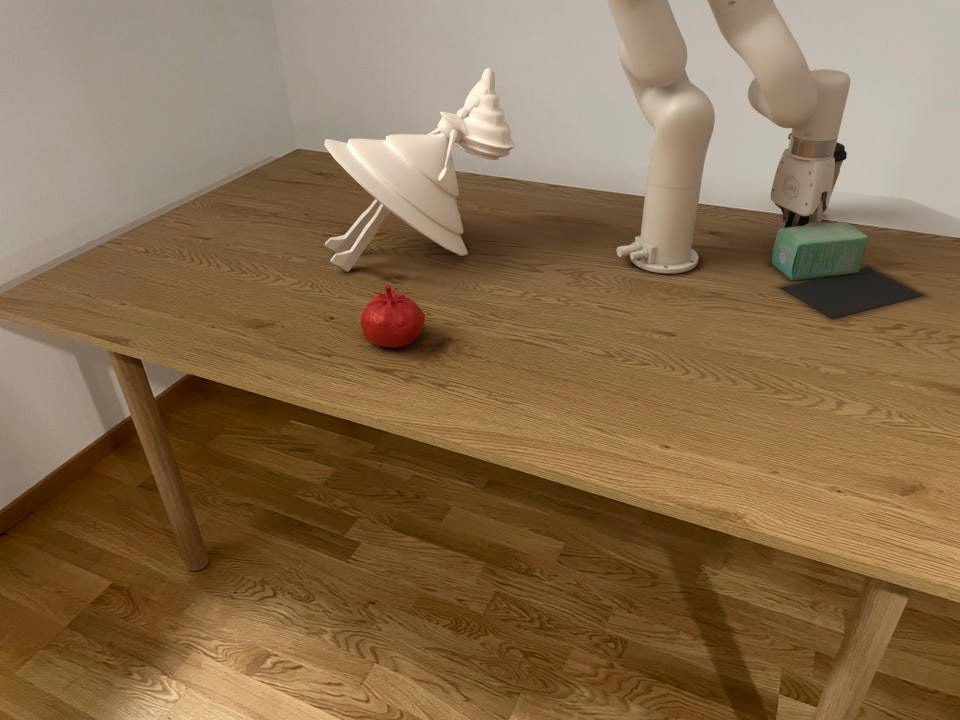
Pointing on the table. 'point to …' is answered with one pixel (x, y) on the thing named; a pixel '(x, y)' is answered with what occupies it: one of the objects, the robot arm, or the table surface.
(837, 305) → the mat
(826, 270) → the box
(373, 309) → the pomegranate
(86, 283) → the table surface
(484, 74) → the figurine
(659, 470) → the table surface
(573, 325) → the table surface
